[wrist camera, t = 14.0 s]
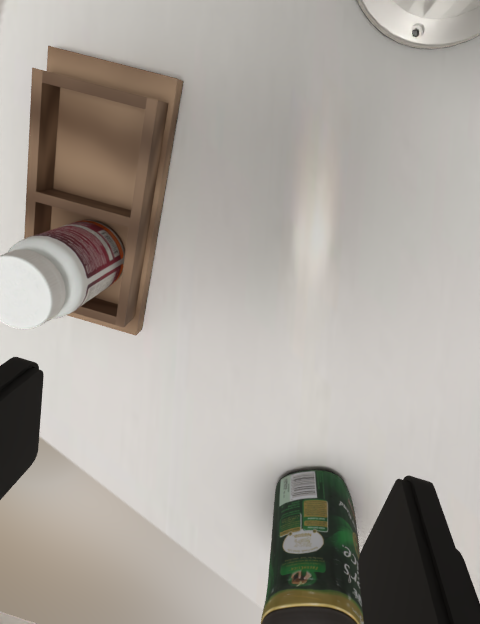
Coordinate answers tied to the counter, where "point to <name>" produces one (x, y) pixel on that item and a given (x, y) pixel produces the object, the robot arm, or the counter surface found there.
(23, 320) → the pill bottle
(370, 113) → the counter surface
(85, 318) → the caddy
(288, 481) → the coffee jar
